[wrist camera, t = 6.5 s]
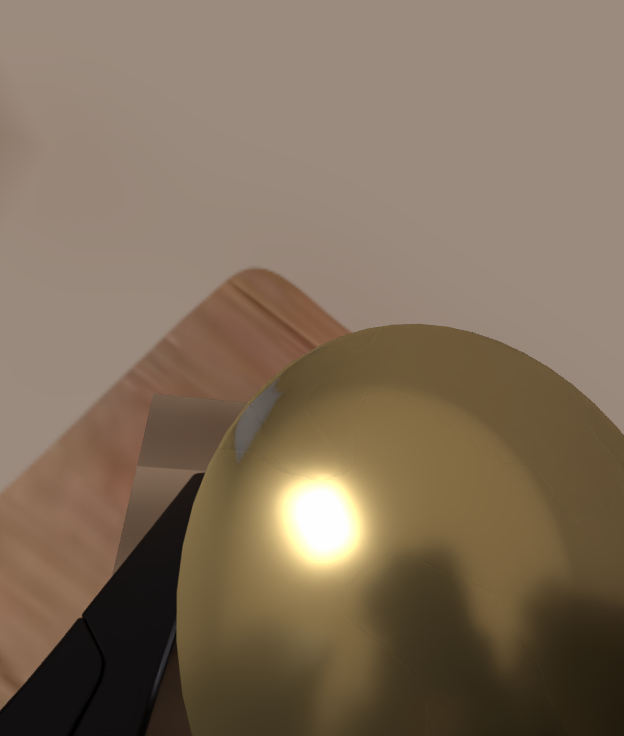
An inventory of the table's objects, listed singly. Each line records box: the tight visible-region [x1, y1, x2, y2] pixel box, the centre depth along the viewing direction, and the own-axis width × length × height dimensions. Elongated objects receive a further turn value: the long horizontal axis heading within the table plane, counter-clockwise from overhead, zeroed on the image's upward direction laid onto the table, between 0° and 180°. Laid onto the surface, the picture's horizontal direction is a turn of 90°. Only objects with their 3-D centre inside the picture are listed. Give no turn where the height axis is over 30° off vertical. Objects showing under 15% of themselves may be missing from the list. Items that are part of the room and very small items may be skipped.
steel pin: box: [177, 324, 624, 736], centre depth 8 cm, size 4×4×12 cm
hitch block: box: [112, 394, 247, 576], centre depth 18 cm, size 12×12×4 cm
